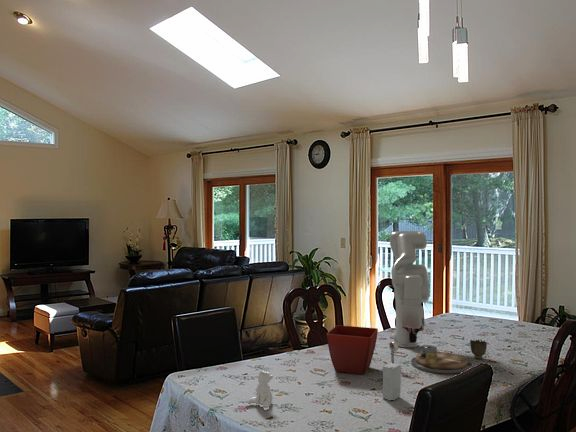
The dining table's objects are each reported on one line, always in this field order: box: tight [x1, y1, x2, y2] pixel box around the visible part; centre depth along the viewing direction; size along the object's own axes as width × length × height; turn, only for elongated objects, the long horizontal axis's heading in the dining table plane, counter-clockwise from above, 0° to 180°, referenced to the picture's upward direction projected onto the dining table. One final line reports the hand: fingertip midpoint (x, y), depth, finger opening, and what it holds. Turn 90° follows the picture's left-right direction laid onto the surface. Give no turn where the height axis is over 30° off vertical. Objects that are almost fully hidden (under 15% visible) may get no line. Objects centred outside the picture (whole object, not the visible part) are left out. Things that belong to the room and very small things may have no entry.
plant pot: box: [326, 324, 379, 375], centre depth 226 cm, size 19×19×17 cm
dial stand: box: [388, 341, 400, 364], centre depth 228 cm, size 6×5×12 cm
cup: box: [469, 339, 488, 360], centre depth 243 cm, size 8×7×8 cm
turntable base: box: [410, 356, 473, 375], centre depth 232 cm, size 26×26×1 cm
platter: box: [415, 351, 468, 369], centre depth 232 cm, size 22×22×6 cm
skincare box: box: [382, 362, 402, 401], centre depth 191 cm, size 6×4×12 cm
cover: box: [420, 344, 438, 358], centre depth 236 cm, size 7×7×4 cm
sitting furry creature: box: [245, 370, 274, 409], centre depth 185 cm, size 10×9×12 cm
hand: (413, 342), depth 241 cm, fingers closed
